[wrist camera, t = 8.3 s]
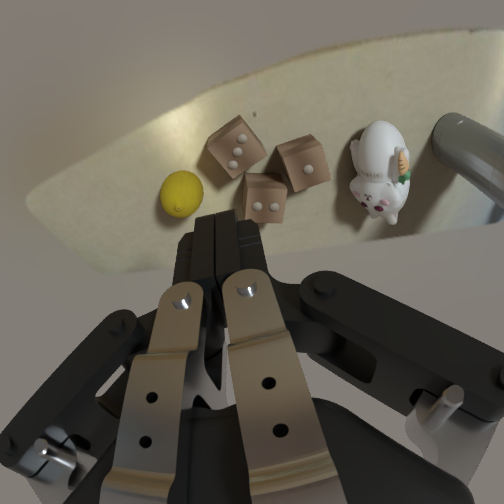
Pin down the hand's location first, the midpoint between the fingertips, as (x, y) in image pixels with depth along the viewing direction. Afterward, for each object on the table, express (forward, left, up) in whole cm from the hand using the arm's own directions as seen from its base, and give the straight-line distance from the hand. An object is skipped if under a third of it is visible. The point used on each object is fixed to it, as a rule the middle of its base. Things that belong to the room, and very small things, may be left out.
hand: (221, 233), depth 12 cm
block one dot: (-9, +9, -29) cm, 32 cm away
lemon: (+7, +9, -29) cm, 31 cm away
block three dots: (-1, +5, -29) cm, 30 cm away
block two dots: (-3, +13, -29) cm, 32 cm away
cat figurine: (-20, +12, -29) cm, 37 cm away
